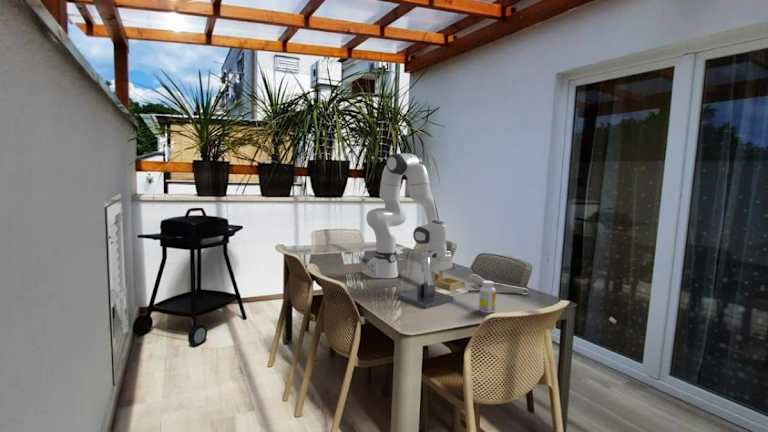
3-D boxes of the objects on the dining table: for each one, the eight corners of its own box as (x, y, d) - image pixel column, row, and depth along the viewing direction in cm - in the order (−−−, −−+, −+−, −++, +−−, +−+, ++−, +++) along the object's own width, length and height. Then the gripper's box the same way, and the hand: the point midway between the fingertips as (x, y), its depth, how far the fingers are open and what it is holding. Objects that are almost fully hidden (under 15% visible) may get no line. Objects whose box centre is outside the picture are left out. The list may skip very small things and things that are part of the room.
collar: (425, 283, 212) (426, 274, 211) (440, 280, 219) (440, 271, 219) (449, 291, 200) (450, 280, 199) (464, 287, 207) (465, 277, 206)
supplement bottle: (492, 308, 184) (493, 279, 183) (496, 313, 177) (498, 283, 176) (477, 308, 184) (478, 279, 182) (481, 313, 177) (482, 283, 176)
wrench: (527, 300, 206) (466, 289, 212) (526, 299, 208) (466, 288, 214) (530, 285, 205) (468, 273, 211) (529, 284, 207) (468, 272, 213)
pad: (422, 290, 210) (422, 288, 210) (444, 285, 221) (444, 283, 221) (446, 298, 198) (446, 296, 198) (468, 292, 208) (468, 290, 208)
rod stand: (398, 298, 196) (399, 256, 194) (425, 292, 207) (426, 252, 205) (426, 308, 182) (427, 263, 180) (453, 300, 194) (454, 258, 192)
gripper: (446, 249, 221) (445, 275, 223) (419, 253, 208) (418, 280, 209) (455, 251, 216) (455, 277, 218) (428, 255, 203) (427, 283, 205)
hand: (436, 279), depth 214 cm, fingers closed on collar, 3 cm apart
